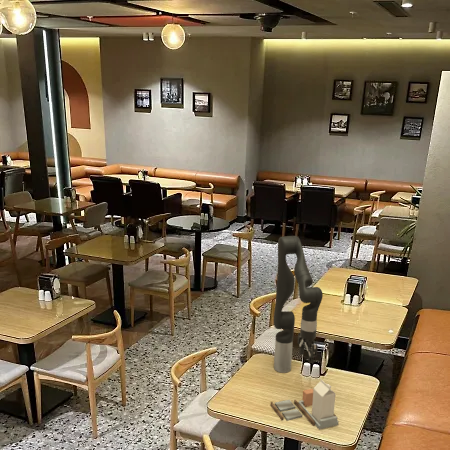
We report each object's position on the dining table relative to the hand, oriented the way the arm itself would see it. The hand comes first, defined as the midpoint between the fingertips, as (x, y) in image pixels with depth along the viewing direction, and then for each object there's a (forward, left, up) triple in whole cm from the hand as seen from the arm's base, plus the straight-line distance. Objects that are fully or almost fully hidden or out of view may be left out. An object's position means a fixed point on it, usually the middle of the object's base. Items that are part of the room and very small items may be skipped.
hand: (306, 358), depth 231 cm
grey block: (+13, 0, -22) cm, 25 cm away
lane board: (+10, -6, -22) cm, 25 cm away
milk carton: (+18, 0, -22) cm, 28 cm away
